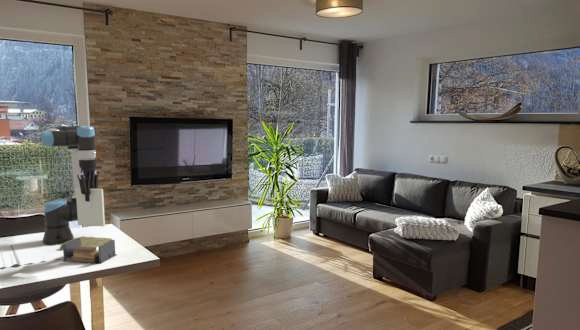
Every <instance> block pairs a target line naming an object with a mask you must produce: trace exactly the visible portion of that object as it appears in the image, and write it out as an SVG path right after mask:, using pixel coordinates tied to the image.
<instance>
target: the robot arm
mask: <svg viewBox="0 0 580 330" xmlns="http://www.w3.org/2000/svg"><path fill="white" fill-rule="evenodd" d="M40 138H41V140H40V141H41V146H42V147H44V148H45V147H48V148H51V147H59V148H60V147H61V148H64V147H67V150H68V151H69V152H70V155H71V169H72V183H73V184H72V185H73V195H72V196H71V200H68V198H58V199H54V200H50V201H47V202H46V203H45V204H44V205H43V206H44V207H43V213H44V223H45V224H44V225H45V230H44V234H43V237H42V243H43V245H48V246H53V245H55V246H56V245H62V244H63V243H65V242H68V241H70V240H73V239H74V234H73V233H72V230H71V227H70V222H78V216H77V201H76V188H80V189H81V194H83V195H85V201H86V208H92V197H91V194H90V189H99V188H98V184H99V183H98V182H99V174H100V171H99V170H98V171H97V170H96V167H97V159H96V158H97V154H96V153H97V152H96V132H95V128H94V126H87V125H62V126H61V125H60V126H59V125H58V126H53V127H50V128H47V129H46V130H42V131H41V132H40Z"/></svg>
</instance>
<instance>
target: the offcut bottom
mask: <svg viewBox="0 0 580 330" xmlns="http://www.w3.org/2000/svg"><path fill="white" fill-rule="evenodd" d="M71 260H72V261H78V262H92V263H94V262H96V261H98V260H99V256H98V257H96V258H82V257H73V256H72V257H71Z"/></svg>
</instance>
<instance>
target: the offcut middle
mask: <svg viewBox="0 0 580 330" xmlns="http://www.w3.org/2000/svg"><path fill="white" fill-rule="evenodd" d="M98 256H99V251H95V252H93V253H91V254H85V253H73V257H82V258H96V257H98Z"/></svg>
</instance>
